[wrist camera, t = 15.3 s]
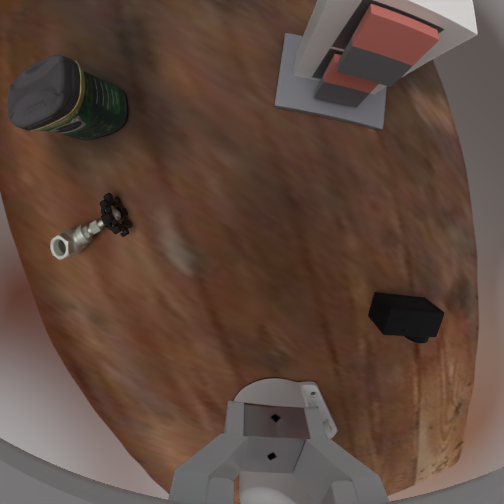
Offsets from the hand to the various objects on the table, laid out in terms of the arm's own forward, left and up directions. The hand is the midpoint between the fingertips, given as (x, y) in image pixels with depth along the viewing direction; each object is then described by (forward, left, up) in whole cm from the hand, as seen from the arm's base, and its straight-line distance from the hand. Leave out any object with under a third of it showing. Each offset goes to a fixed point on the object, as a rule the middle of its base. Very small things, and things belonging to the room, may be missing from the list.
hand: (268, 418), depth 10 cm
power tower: (+11, -22, -37) cm, 44 cm away
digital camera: (-25, -12, -37) cm, 46 cm away
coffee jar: (+29, +8, -37) cm, 48 cm away
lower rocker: (+9, -20, -34) cm, 40 cm away
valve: (+15, +19, -38) cm, 45 cm away
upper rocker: (+9, -20, -22) cm, 31 cm away
